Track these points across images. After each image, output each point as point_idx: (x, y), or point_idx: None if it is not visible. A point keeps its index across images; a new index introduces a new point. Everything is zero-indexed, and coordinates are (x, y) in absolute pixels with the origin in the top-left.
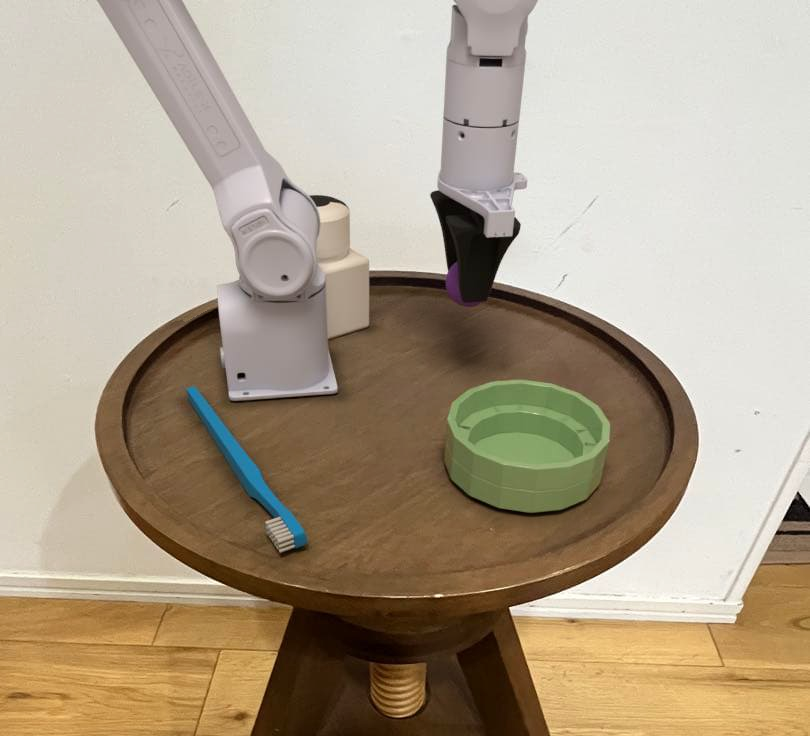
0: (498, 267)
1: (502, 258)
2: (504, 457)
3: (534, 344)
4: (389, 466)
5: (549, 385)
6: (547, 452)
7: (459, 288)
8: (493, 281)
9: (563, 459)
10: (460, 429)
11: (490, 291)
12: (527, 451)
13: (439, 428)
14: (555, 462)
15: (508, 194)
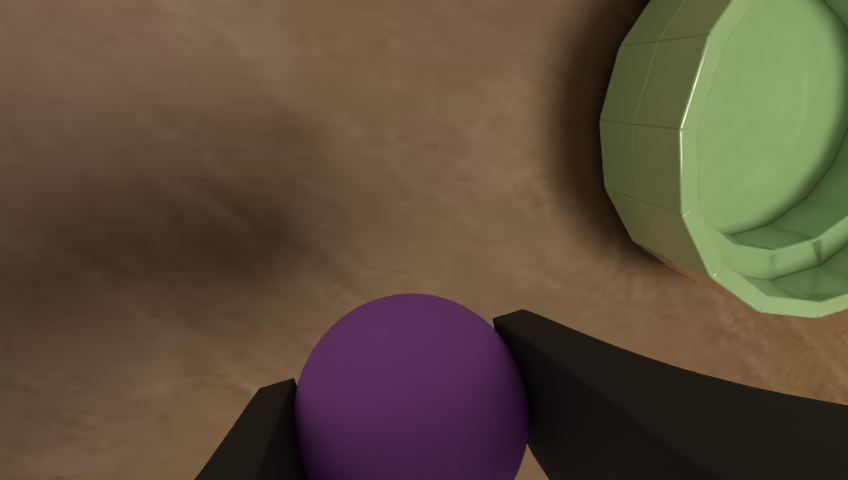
0: (656, 361)
1: (726, 381)
2: (726, 155)
3: (113, 10)
4: (698, 362)
5: (722, 41)
6: (725, 54)
7: (530, 449)
8: (578, 332)
9: (751, 17)
10: (735, 267)
11: (439, 297)
12: (713, 102)
13: (590, 287)
14: (760, 40)
15: None
